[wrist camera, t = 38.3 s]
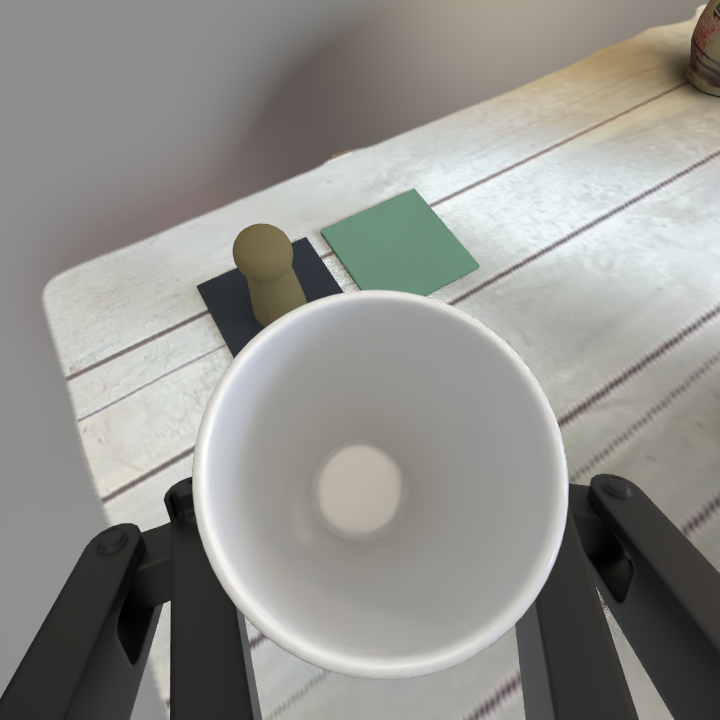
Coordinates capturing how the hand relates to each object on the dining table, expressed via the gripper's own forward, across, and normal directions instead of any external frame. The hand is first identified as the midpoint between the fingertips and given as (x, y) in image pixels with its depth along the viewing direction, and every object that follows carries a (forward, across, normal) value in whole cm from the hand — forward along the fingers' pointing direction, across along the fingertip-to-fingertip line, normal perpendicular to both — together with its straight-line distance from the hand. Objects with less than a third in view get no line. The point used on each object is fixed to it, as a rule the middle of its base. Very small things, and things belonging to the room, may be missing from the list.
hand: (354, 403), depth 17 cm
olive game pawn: (+27, -6, -2) cm, 28 cm away
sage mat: (+32, +8, +2) cm, 33 cm away
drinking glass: (+1, 0, -6) cm, 6 cm away
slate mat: (+27, -6, -2) cm, 28 cm away
